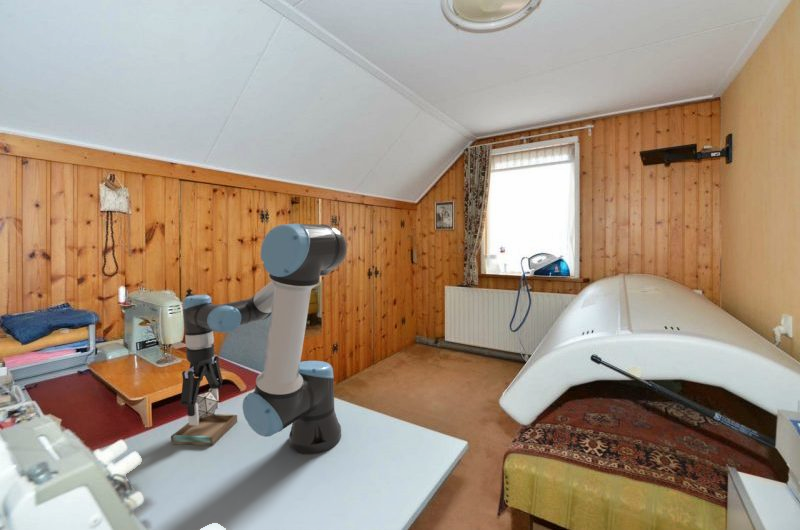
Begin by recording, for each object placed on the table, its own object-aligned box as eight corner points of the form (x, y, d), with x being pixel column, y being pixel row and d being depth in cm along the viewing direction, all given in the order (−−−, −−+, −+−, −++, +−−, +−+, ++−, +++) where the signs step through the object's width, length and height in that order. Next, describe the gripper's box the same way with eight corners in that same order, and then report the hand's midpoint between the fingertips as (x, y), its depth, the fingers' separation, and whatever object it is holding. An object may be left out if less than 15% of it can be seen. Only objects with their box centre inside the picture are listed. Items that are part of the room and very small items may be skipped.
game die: (210, 430, 108) (212, 413, 103) (181, 423, 107) (182, 405, 102) (223, 404, 116) (226, 387, 110) (197, 397, 114) (198, 380, 109)
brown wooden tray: (237, 421, 115) (237, 414, 115) (212, 445, 102) (212, 437, 102) (200, 420, 116) (199, 413, 116) (171, 443, 103) (170, 436, 103)
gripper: (210, 335, 118) (215, 399, 120) (161, 358, 96) (167, 435, 98) (232, 335, 117) (235, 399, 119) (186, 358, 96) (192, 436, 98)
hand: (204, 415), depth 109 cm, fingers closed on game die, 9 cm apart
